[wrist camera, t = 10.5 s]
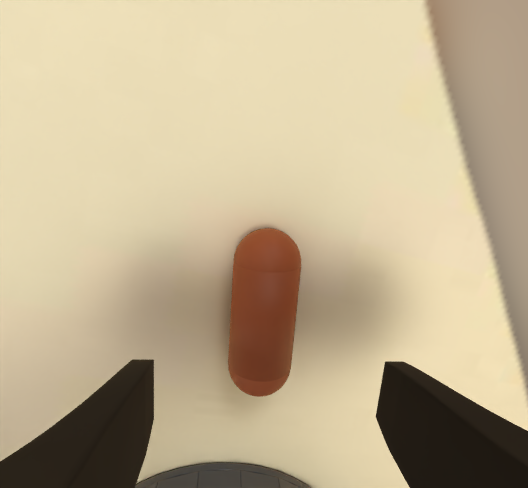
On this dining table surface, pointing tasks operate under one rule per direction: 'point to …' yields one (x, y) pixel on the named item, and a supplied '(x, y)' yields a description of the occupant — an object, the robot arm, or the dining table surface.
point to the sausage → (263, 311)
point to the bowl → (222, 477)
